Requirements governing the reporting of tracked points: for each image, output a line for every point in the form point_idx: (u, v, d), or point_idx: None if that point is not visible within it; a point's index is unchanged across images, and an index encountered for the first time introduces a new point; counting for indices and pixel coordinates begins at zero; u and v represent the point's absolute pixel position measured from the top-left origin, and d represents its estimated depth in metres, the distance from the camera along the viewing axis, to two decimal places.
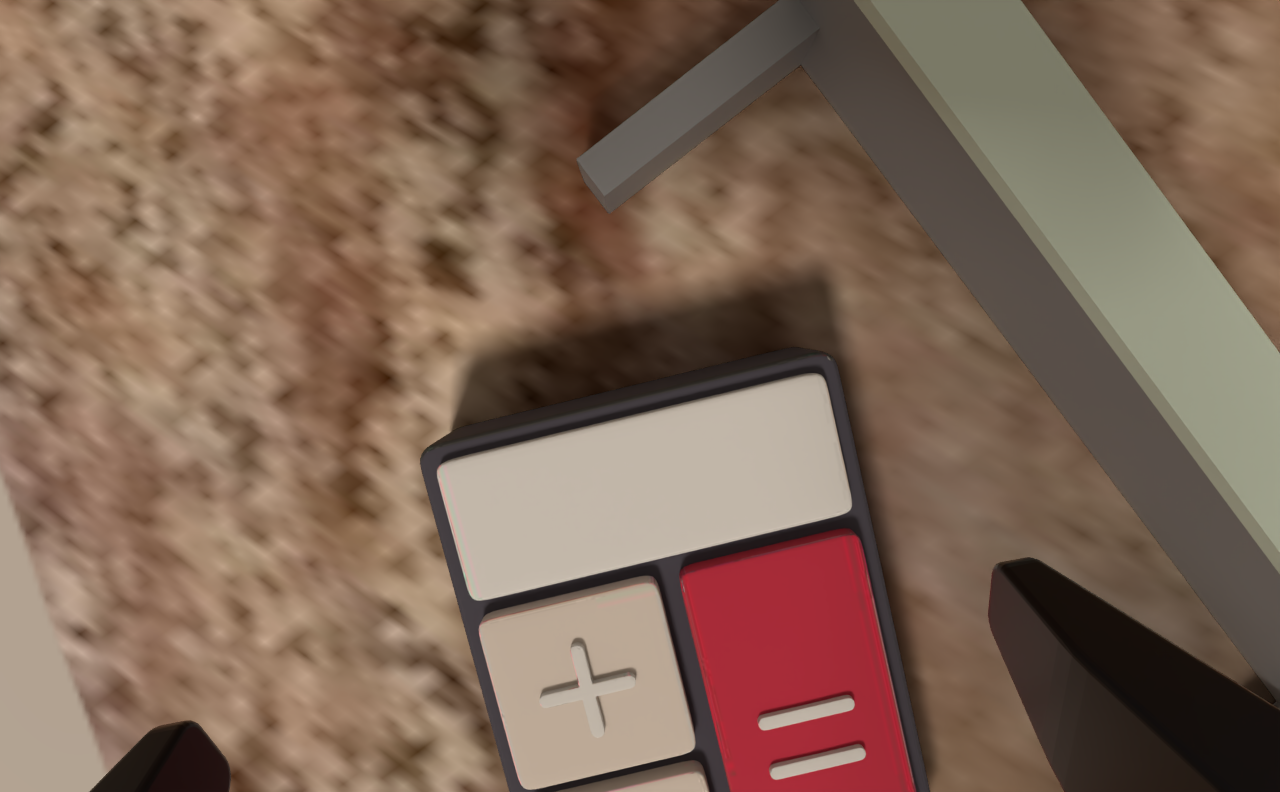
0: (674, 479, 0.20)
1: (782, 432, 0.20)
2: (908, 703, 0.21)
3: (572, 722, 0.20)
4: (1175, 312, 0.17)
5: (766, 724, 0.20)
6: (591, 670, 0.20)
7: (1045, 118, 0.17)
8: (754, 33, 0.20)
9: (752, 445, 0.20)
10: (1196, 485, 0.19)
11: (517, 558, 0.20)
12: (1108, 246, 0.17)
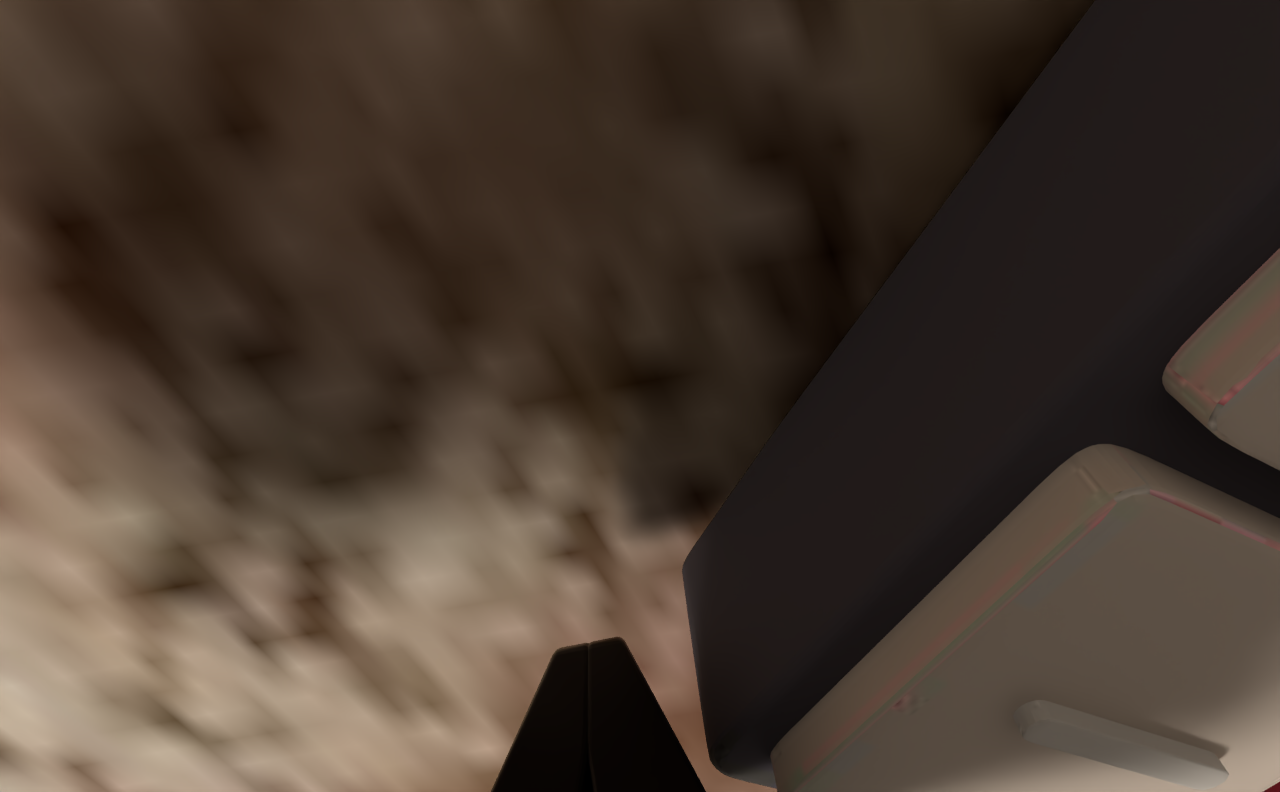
0: None
1: None
2: None
3: None
4: None
5: None
6: None
7: None
8: None
9: None
10: None
11: None
12: None
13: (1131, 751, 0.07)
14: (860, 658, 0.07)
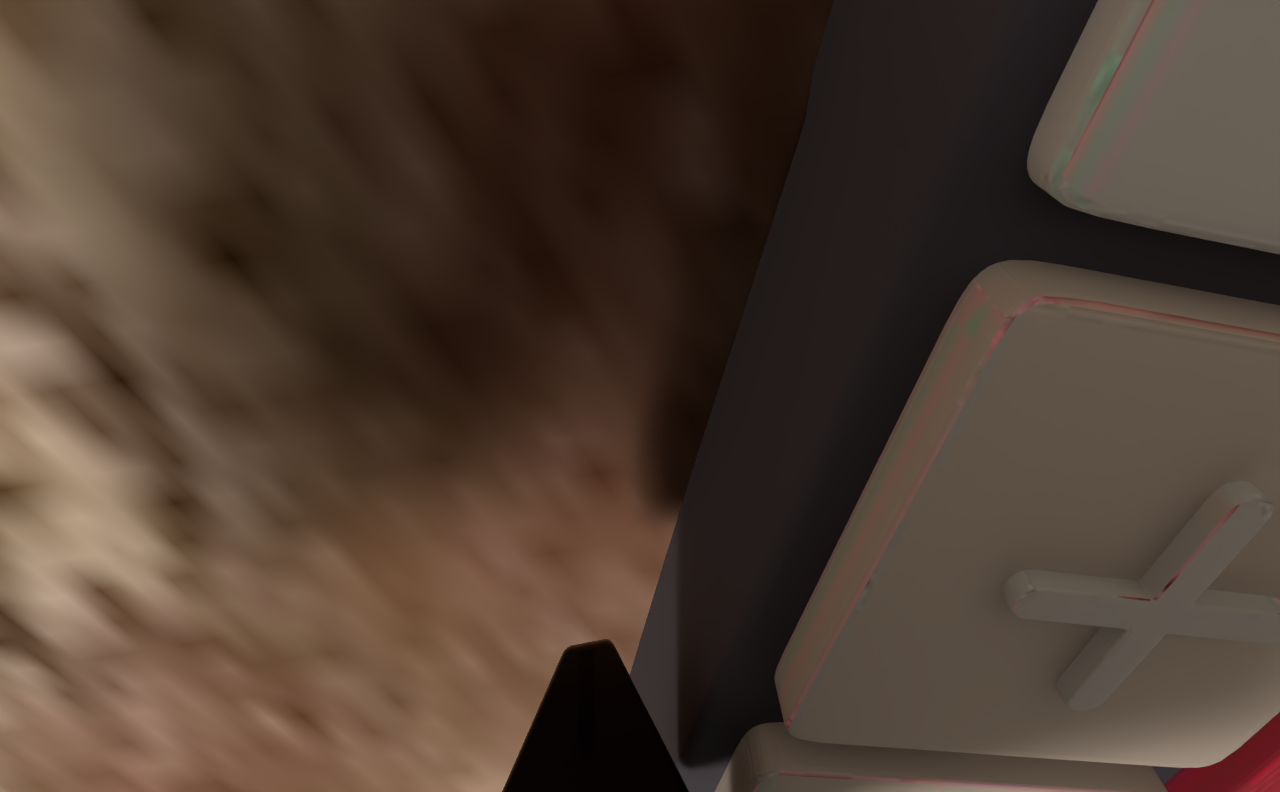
0: None
1: None
2: None
3: (1030, 654, 0.07)
4: None
5: None
6: (1200, 562, 0.06)
7: None
8: None
9: None
10: None
11: None
12: None
13: None
14: None
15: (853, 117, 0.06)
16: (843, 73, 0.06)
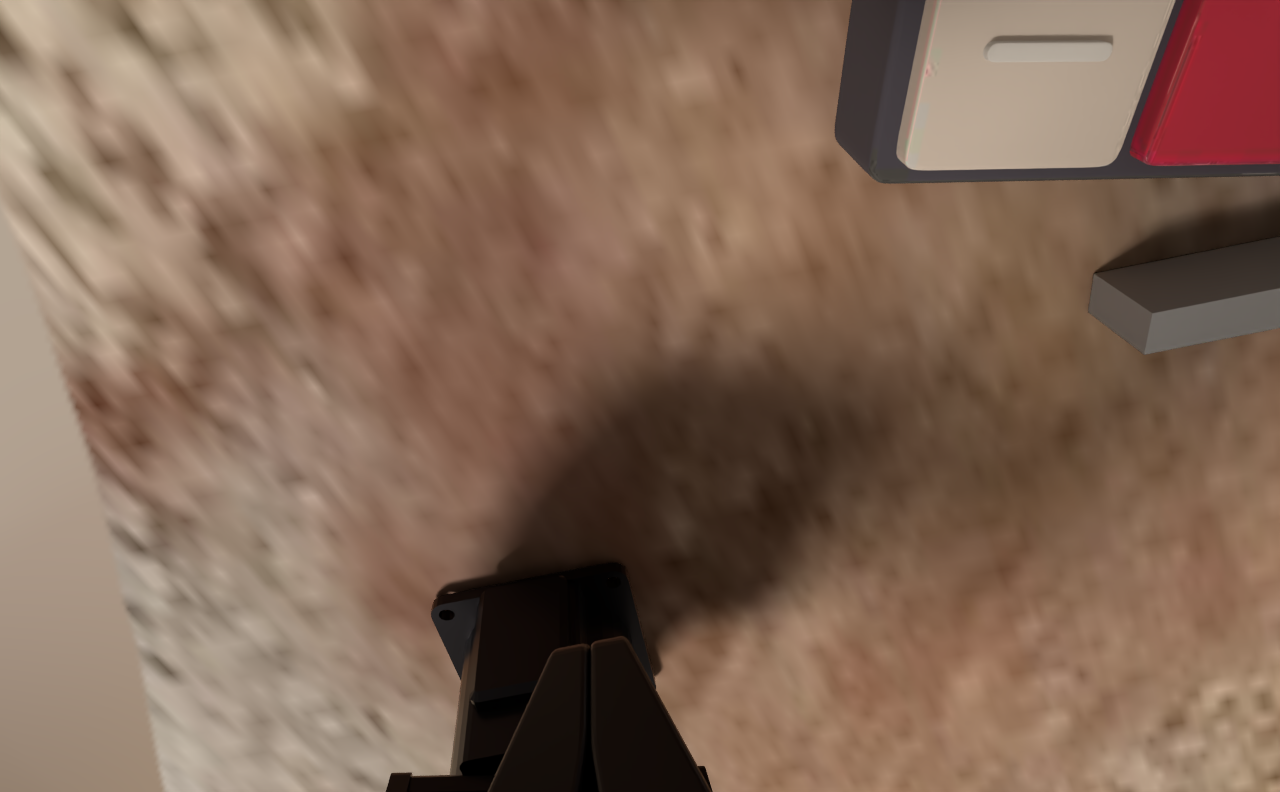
0: None
1: None
2: None
3: None
4: None
5: None
6: None
7: None
8: None
9: None
10: None
11: None
12: None
13: (1047, 48, 0.15)
14: (910, 73, 0.16)
15: None
16: None
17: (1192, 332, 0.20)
